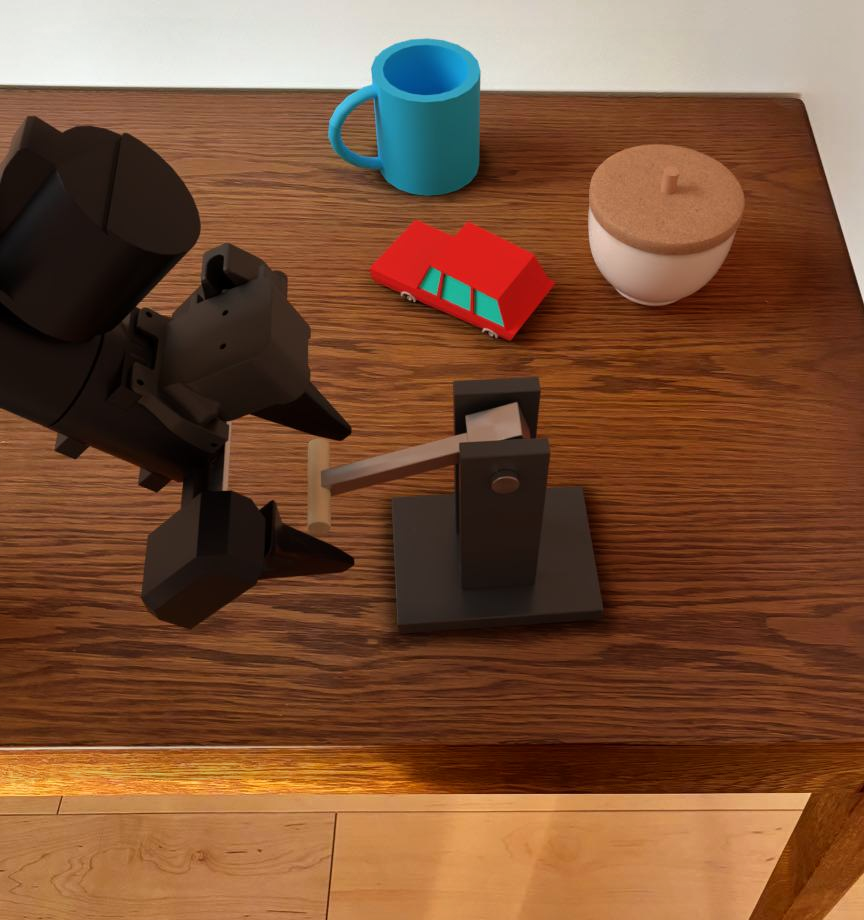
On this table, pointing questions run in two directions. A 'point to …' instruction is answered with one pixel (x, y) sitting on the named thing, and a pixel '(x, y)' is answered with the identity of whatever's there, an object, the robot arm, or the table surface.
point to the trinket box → (662, 221)
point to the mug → (420, 117)
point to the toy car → (465, 276)
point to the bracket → (495, 532)
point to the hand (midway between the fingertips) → (348, 497)
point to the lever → (400, 461)
